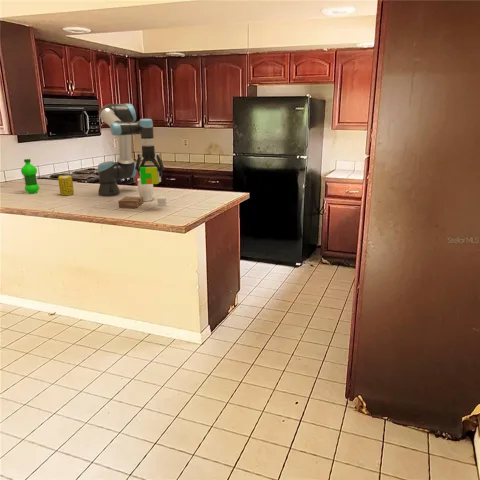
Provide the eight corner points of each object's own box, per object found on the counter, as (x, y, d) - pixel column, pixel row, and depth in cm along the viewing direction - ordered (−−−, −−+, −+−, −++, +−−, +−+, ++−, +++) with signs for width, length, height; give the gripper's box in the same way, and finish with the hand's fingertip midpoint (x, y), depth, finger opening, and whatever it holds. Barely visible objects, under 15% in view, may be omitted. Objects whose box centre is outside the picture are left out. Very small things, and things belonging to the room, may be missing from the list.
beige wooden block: (158, 204, 281) (158, 196, 279) (166, 204, 281) (165, 196, 279) (157, 206, 276) (157, 198, 274) (165, 205, 276) (164, 198, 275)
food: (73, 194, 317) (73, 198, 308) (56, 192, 312) (56, 196, 304) (75, 175, 313) (76, 177, 304) (58, 172, 308) (58, 175, 299)
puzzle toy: (160, 180, 267) (159, 164, 264) (157, 184, 258) (156, 167, 254) (144, 181, 267) (142, 165, 263) (141, 184, 257) (139, 167, 254)
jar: (138, 199, 295) (136, 177, 290) (152, 197, 298) (151, 176, 294) (140, 202, 286) (138, 180, 281) (155, 201, 289) (153, 179, 284)
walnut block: (126, 203, 284) (125, 196, 282) (143, 204, 282) (142, 197, 280) (119, 208, 272) (118, 200, 271) (136, 208, 271) (136, 201, 269)
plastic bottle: (36, 194, 313) (30, 160, 305) (22, 194, 313) (16, 160, 305) (42, 191, 322) (37, 158, 314) (29, 191, 323) (23, 158, 315)
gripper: (127, 145, 254) (130, 181, 261) (163, 146, 249) (166, 183, 256) (132, 144, 261) (136, 179, 268) (168, 145, 256) (170, 180, 263)
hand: (150, 181), depth 262 cm, fingers closed on puzzle toy, 11 cm apart
